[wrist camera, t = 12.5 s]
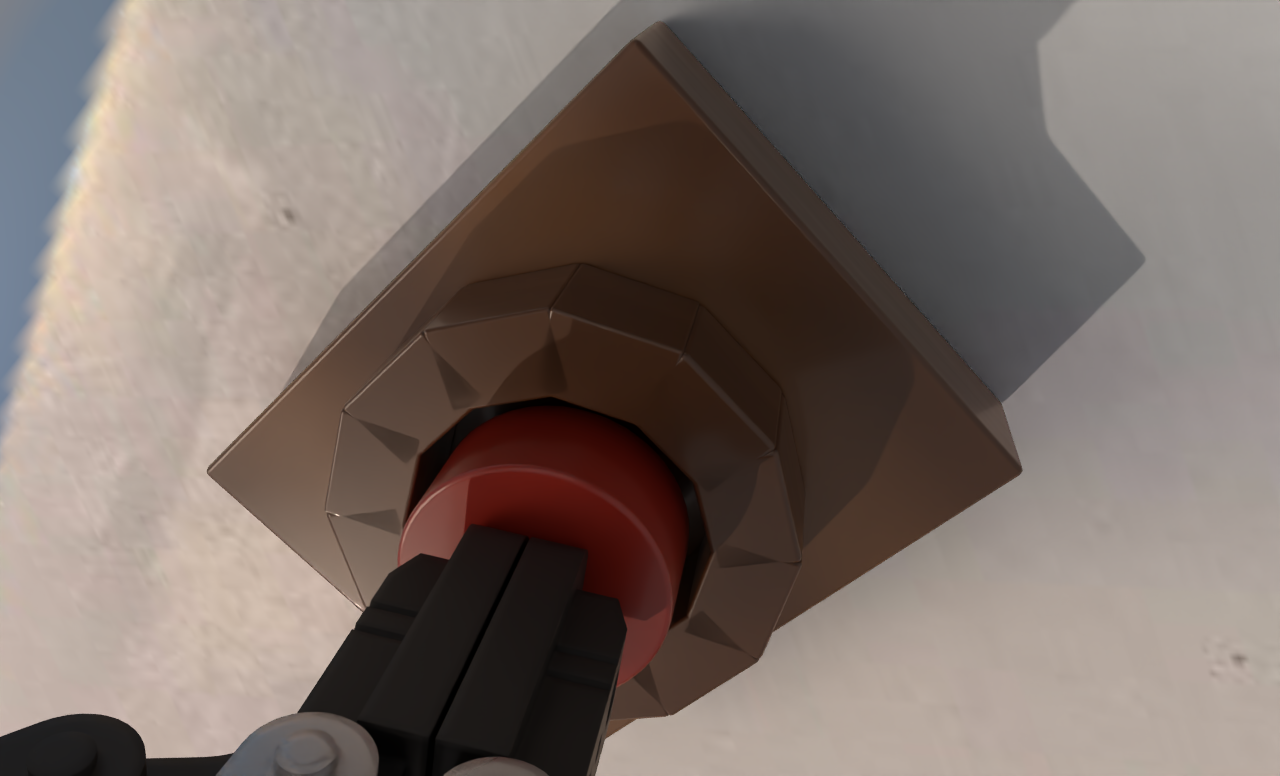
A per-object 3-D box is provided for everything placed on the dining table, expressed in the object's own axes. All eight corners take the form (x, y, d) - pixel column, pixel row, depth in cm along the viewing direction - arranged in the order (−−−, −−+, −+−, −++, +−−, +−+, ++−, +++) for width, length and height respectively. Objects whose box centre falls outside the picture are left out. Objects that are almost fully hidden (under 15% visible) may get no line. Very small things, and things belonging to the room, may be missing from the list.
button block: (660, 17, 15) (606, 55, 12) (1004, 405, 17) (1049, 544, 13) (266, 412, 19) (136, 532, 16) (574, 694, 21) (520, 861, 17)
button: (560, 352, 14) (524, 411, 12) (744, 537, 14) (732, 614, 13) (391, 499, 15) (340, 569, 14) (565, 661, 16) (536, 745, 14)
